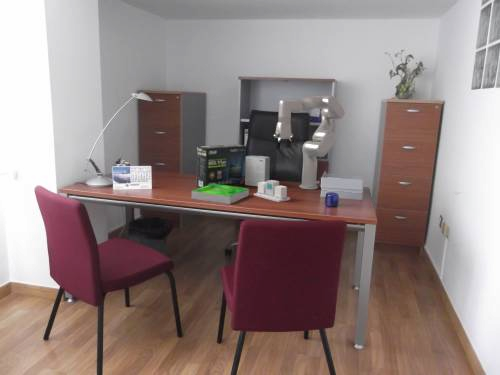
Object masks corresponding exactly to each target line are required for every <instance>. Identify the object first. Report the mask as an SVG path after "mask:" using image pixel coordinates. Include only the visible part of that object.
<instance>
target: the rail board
mask: <svg viewBox="0 0 500 375" xmlns="http://www.w3.org/2000/svg"><path fill="white" fill-rule="evenodd" d="M287 189H288V187H287V186H285V185H280V184H279V186H275V194H274V196H272V195H268V194H266V182H258V186H257V192H256V193H253V197H258V198H263V199H265V200H269V201H273V202H278V203H281V202H285V201H291V197H289V196H287V194H288V193H287V192H288V190H287Z"/></svg>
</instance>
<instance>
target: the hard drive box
mask: <svg viewBox="0 0 500 375" xmlns="http://www.w3.org/2000/svg"><path fill="white" fill-rule="evenodd" d="M270 160H271V157H270V156H264V155H263V156H262V155H246V156H245V183H244V185H245V186H251V187H258V182H266V181H269V180H270V166H271V164H270V163H271V162H270Z"/></svg>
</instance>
